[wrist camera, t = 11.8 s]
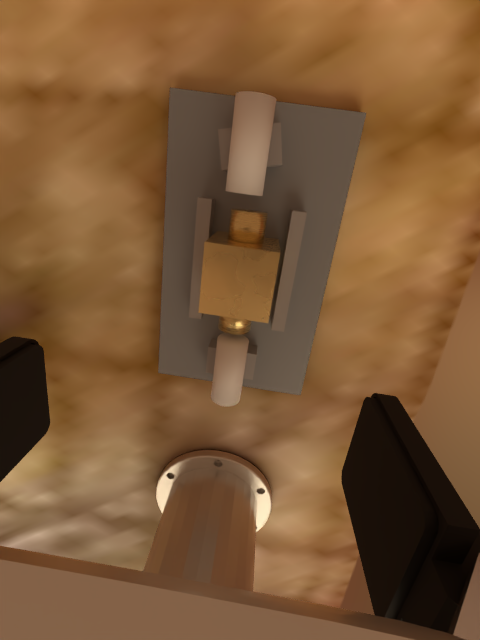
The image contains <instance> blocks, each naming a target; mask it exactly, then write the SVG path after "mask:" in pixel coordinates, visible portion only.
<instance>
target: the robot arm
mask: <svg viewBox="0 0 480 640" xmlns="http://www.w3.org/2000/svg"><path fill="white" fill-rule="evenodd" d="M49 425H50V417H49V406H48V395H47V384H46V373H45V362H44V351H43V348H42V347H41V346H40V345H39V344H38V342H37V341H36V340H34V339H27V338H21V337H11V338H9V339H7V340H5V341H3V342H2V343H0V482H1V481H2V480H3V479H4V478H5V476H6V475H7V474H8V473H9V472H10V471H11V470H12V469H13V468H14V467H15V466H16V465H17V464H18V463H19V462H20V461H21V460H22V458H23V457H24V456H25V455H26V454H27V453H28V452H29V451H30V450H31V449H32V448H33V447H34V446H35V445H36V444H37V443H38V441H39V440H40V439H41V438H42V437H43V436H44V435H45V434H46V432H47V431H48V428H49ZM342 486H343V490H344V494H345V498H346V502H347V506H348V510H349V514H350V518H351V522H352V526H353V530H354V534H355V538H356V542H357V546H358V550H359V554H360V558H361V561H362V566H363V570H364V574H365V577H366V582H367V586H368V590H369V594H370V598H371V602H372V606H373V610H374V613H375V615H370V614H366V613H361V612H356V611H351V610H346V609H341V608H336V607H332V606H327V605H322V604H317V603H312V602H307V601H301V600H296V599H291V598H285V597H280V596H274V595H269V594H264V593H258V592H253V582H254V560H255V538H256V532H257V531H258V530H259V529H261V528H262V527H263V526H264V525H265V523H266V522H267V520H268V519H269V516H270V513H271V508H272V493H271V489H270V486H269V483H268V482H267V480H266V478H265V476H264V475H263V474H262V473H261V472H260V471H259V470H258V469H257V468H256V467H255V466H254V465H252V464H251V463H250V462H248V461H246V460H245V459H243V458H241V457H239V456H236V455H233V454H231V453H227V452H222V451H217V450H200V451H193V452H189V453H186V454H183V455H181V456H179V457H177V458H175V459H174V460H173V461H171V462H170V463H169V464H168V465H167V466H166V467H165V468H164V470H163V471H162V473H161V475H160V478H159V480H158V483H157V486H156V500H157V504H158V506H159V508H160V511H161V512H162V516H161V519H160V522H159V525H158V528H157V531H156V534H155V537H154V540H153V543H152V546H151V549H150V552H149V555H148V558H147V561H146V564H145V567H144V570H143V571H138V570H133V569H127V568H122V567H116V566H111V565H105V564H99V563H94V562H88V561H83V560H77V559H71V558H66V557H60V556H54V555H49V554H43V553H38V552H32V551H26V550H21V549H15V548H9V547H3V546H0V640H480V529H479V527H478V525H477V524H476V522H475V521H474V519H473V517H472V516H471V514H470V513H469V511H468V509H467V508H466V506H465V505H464V503H463V501H462V500H461V498H460V497H459V495H458V494H457V492H456V490H455V489H454V487H453V486H452V484H451V482H450V481H449V479H448V478H447V476H446V475H445V473H444V471H443V470H442V468H441V467H440V465H439V463H438V462H437V460H436V459H435V457H434V455H433V454H432V452H431V451H430V449H429V447H428V446H427V444H426V443H425V441H424V439H423V438H422V436H421V435H420V433H419V432H418V430H417V429H416V427H415V425H414V423H413V422H412V420H411V419H410V417H409V416H408V414H407V412H406V411H405V409H404V408H403V406H402V404H401V403H400V401H399V400H398V398H397V397H396V396H390V395H384V394H378V393H374V394H373V395H372V396H371V398H370V397H366V398H365V400H364V402H363V405H362V408H361V412H360V415H359V418H358V421H357V424H356V428H355V431H354V434H353V437H352V441H351V444H350V447H349V450H348V453H347V457H346V460H345V463H344V466H343V470H342Z"/></svg>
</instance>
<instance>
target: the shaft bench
mask: <svg viewBox="0 0 480 640" xmlns="http://www.w3.org/2000/svg"><path fill="white" fill-rule="evenodd" d="M365 117H366V113H363V112H356V111H348V110H340V109H332V108H325V107H317V106H309V105H301V104H294V103H286V102H278V101H276V98H275V97H273V96H271V95H268V94H264V93H260V92H253V91H240V92H237V93H236V95H235V96H232V95H224V94H216V93H209V92H201V91H193V90H185V89H178V88H170V98H169V123H168V148H167V172H166V197H165V222H164V246H163V271H162V296H161V320H160V345H159V369H158V373H163V374H169V375H175V376H182V377H188V378H194V379H201V380H207V381H213V382H212V391H211V399H212V401H213V402H214V403H216V404H218V405H220V406H226V407H229V406H234V405H236V404H238V403H239V401H240V397H241V390H242V386H245V387H251V388H258V389H264V390H270V391H276V392H283V393H289V394H295V395H301V391H302V386H303V382H304V378H305V374H306V369H307V365H308V361H309V356H310V352H311V348H312V344H313V339H314V335H315V331H316V327H317V322H318V318H319V314H320V309H321V305H322V301H323V297H324V292H325V288H326V284H327V279H328V275H329V271H330V267H331V262H332V258H333V254H334V249H335V245H336V241H337V237H338V232H339V228H340V224H341V220H342V215H343V211H344V207H345V202H346V198H347V194H348V190H349V185H350V181H351V177H352V172H353V168H354V164H355V160H356V155H357V151H358V147H359V142H360V138H361V134H362V130H363V125H364V121H365ZM232 208H235V209H246V210H253V211H259V212H264V213H267V214H268V215H267V222H266V228H265V235H264V237H266V238H273V239H279V246H280V258H279V264H278V270H277V276H276V281H275V287H274V293H273V299H272V305H271V310H270V316H269V322H268V323H263V322H256V321H251V327H250V331H249V332H248V333H246V334H242V335H234V334H228V333H225V332H223V331H221V330H220V329H219V328H218V323H219V316H217V315H210V314H204V313H198V312H199V300H200V288H201V277H202V265H203V254H204V242H205V241H206V240H207V239H209V238H210V237H211V236H212V235H214V234H215V233H216V232H217V231H224V232H229V225H230V217H231V209H232Z"/></svg>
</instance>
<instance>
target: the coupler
mask: <svg viewBox="0 0 480 640" xmlns="http://www.w3.org/2000/svg"><path fill="white" fill-rule="evenodd" d="M267 215H268V214H267V213H264V212H259V211H253V210H246V209H235V208H232V209H231V217H230V225H229V232H224V231H217V232H216V233H215V234H214V235H212V236H211V237H210V238H209V239H207V240H206V241H205V242H204V254H203V265H202V277H201V288H200V300H199V312H198V313H204V314H210V315H217V316H219V323H218V328H219V329H220V330H221V331H223V332H225V333H228V334H234V335H242V334H246V333H248V332H249V331H250V327H251V321H256V322H263V323H268V322H269V316H270V310H271V305H272V299H273V293H274V287H275V281H276V276H277V270H278V264H279V258H280V246H279V239H273V238H266V237H264V235H265V228H266V222H267Z"/></svg>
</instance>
